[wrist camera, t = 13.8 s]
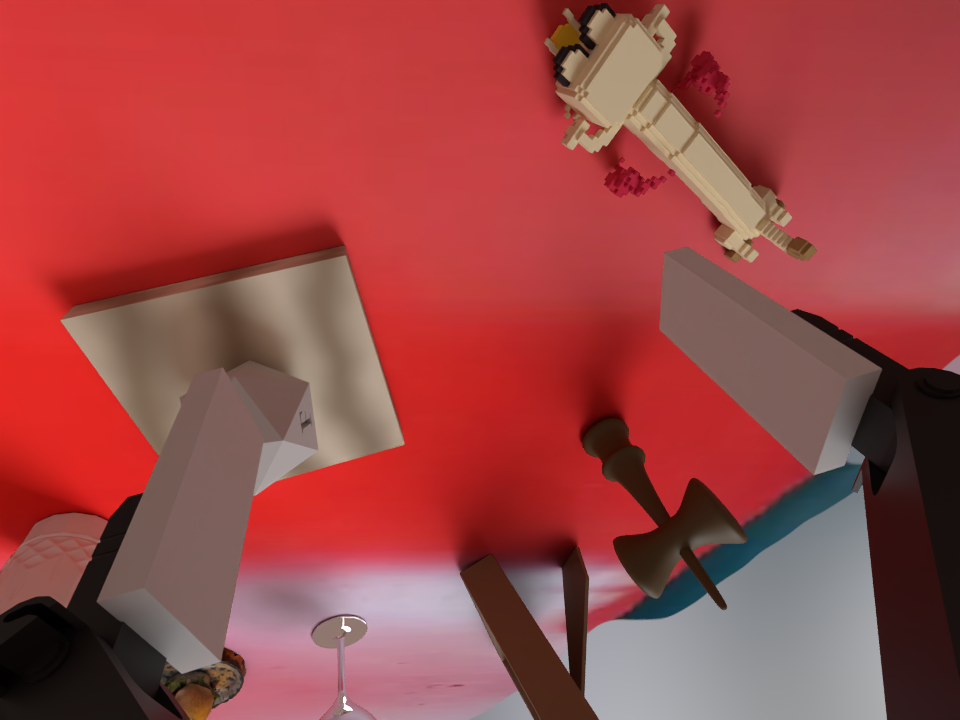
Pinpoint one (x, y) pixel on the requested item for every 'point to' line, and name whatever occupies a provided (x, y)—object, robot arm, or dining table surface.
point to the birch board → (248, 348)
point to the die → (276, 418)
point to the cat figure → (659, 121)
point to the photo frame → (536, 639)
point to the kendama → (661, 515)
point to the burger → (205, 684)
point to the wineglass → (342, 662)
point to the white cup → (50, 559)
